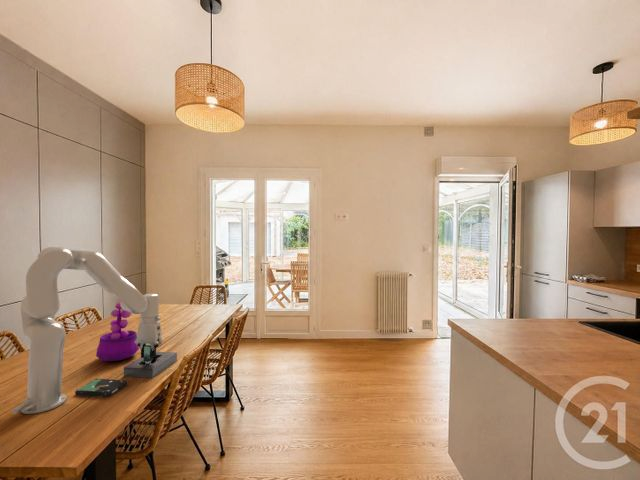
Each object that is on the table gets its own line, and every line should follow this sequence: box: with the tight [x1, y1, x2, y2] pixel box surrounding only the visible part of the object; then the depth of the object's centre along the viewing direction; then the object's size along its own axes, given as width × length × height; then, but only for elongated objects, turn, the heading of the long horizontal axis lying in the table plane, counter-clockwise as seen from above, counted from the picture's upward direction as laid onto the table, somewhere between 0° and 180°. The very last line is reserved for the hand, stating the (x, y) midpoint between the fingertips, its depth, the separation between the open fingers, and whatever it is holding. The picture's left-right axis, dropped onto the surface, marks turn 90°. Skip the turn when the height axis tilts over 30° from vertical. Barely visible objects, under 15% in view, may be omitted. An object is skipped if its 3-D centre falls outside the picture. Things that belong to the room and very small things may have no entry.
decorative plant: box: [95, 301, 140, 362], centre depth 154 cm, size 19×18×30 cm
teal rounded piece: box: [144, 344, 153, 365], centre depth 140 cm, size 5×5×12 cm
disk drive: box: [74, 378, 128, 399], centre depth 121 cm, size 10×3×15 cm
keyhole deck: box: [123, 351, 178, 379], centre depth 143 cm, size 20×14×4 cm
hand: (148, 356), depth 140 cm, fingers closed on teal rounded piece, 4 cm apart
